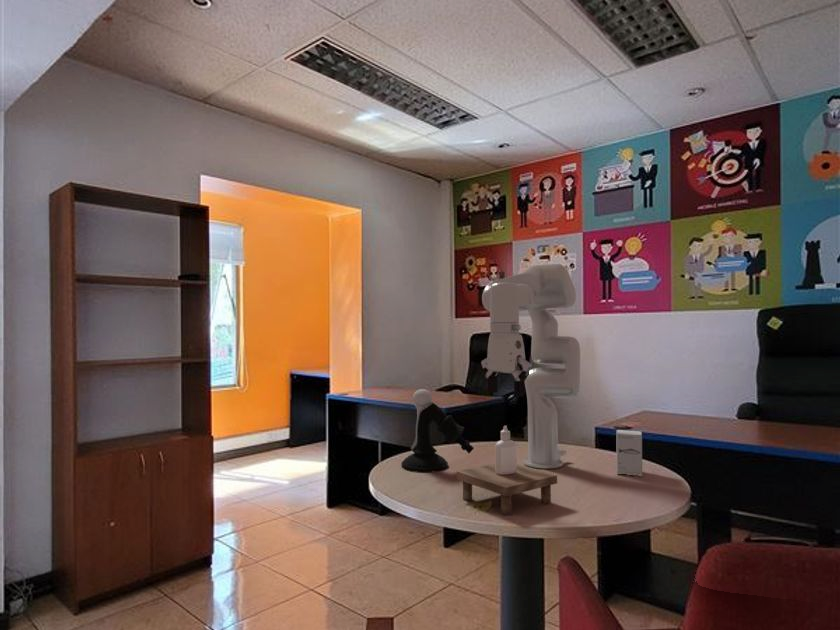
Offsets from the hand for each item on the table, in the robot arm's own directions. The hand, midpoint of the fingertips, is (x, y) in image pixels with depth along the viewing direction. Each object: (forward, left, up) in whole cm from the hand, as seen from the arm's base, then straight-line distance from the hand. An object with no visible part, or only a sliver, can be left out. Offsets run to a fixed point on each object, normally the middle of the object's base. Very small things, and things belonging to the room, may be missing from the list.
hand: (505, 394), depth 136 cm
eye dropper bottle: (+2, +2, -20) cm, 20 cm away
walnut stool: (+2, +2, -27) cm, 27 cm away
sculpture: (-5, -36, -27) cm, 45 cm away
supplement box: (-48, +5, -27) cm, 55 cm away
